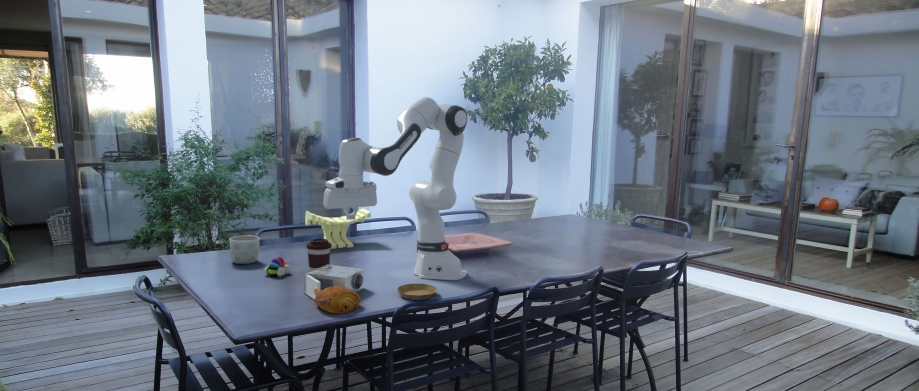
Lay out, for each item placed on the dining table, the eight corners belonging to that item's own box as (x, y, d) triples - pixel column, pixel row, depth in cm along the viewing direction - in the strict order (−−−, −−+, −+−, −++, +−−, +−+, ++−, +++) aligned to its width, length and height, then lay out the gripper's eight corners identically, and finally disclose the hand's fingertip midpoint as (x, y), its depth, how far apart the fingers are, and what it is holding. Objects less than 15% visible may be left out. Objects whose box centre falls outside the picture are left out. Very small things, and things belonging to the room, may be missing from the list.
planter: (223, 264, 241) (223, 239, 239) (241, 258, 253) (240, 234, 251) (248, 266, 238) (248, 241, 237) (265, 260, 250) (265, 236, 248)
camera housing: (366, 288, 210) (367, 268, 210) (347, 298, 197) (348, 277, 196) (327, 283, 216) (327, 263, 215) (306, 292, 203) (306, 272, 202)
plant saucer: (445, 296, 205) (445, 289, 204) (416, 304, 194) (416, 297, 193) (417, 287, 214) (417, 281, 214) (388, 295, 203) (388, 288, 203)
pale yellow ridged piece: (361, 239, 301) (361, 207, 299) (370, 245, 287) (370, 211, 285) (305, 243, 287) (305, 209, 285) (312, 250, 273) (311, 214, 271)
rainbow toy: (293, 273, 230) (293, 256, 229) (279, 278, 221) (279, 261, 220) (275, 271, 232) (275, 254, 231) (261, 276, 223) (261, 259, 222)
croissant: (326, 323, 178) (327, 301, 176) (309, 304, 191) (309, 282, 189) (367, 314, 187) (368, 293, 185) (348, 296, 199) (349, 276, 197)
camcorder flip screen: (320, 301, 192) (320, 281, 192) (315, 302, 191) (315, 282, 191) (307, 292, 203) (307, 273, 202) (302, 292, 202) (302, 273, 201)
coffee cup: (305, 273, 229) (305, 238, 227) (329, 272, 233) (329, 237, 231) (307, 279, 220) (307, 243, 218) (333, 278, 223) (333, 241, 222)
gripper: (372, 180, 211) (372, 216, 213) (321, 182, 199) (321, 220, 201) (380, 182, 206) (379, 218, 208) (328, 184, 194) (328, 222, 195)
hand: (350, 219), depth 204 cm, fingers closed
